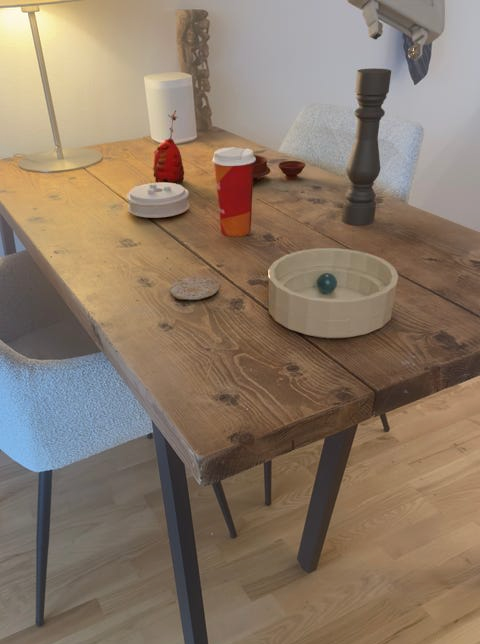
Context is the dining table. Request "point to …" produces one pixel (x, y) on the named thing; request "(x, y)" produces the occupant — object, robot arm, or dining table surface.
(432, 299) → the dining table surface
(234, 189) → the paper cup
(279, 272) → the bowl
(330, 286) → the bead
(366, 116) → the candle holder
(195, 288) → the flatbread
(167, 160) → the red vase with sprig
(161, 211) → the lid
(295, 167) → the pottery
